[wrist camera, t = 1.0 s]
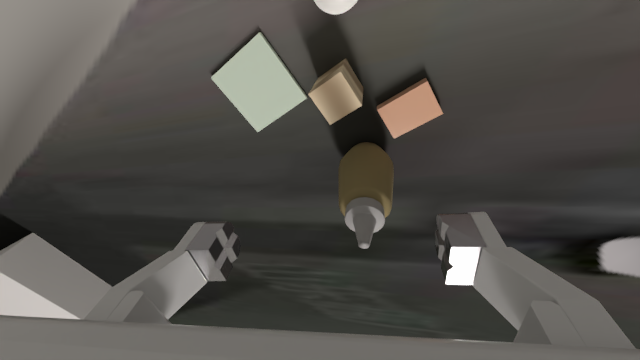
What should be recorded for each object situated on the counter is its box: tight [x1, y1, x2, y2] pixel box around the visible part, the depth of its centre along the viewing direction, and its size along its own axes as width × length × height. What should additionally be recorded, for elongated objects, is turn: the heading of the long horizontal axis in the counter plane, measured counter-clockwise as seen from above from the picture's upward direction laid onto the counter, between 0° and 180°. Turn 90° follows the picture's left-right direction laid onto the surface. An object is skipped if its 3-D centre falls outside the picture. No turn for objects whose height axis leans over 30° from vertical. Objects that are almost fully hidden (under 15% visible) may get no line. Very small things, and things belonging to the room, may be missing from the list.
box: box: [0, 233, 112, 320], centre depth 80 cm, size 28×35×11 cm
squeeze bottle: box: [339, 142, 394, 249], centre depth 35 cm, size 8×8×18 cm
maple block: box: [308, 58, 363, 125], centre depth 33 cm, size 4×4×7 cm
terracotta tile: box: [377, 78, 443, 138], centre depth 36 cm, size 7×5×2 cm
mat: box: [211, 32, 307, 132], centre depth 38 cm, size 10×10×1 cm
